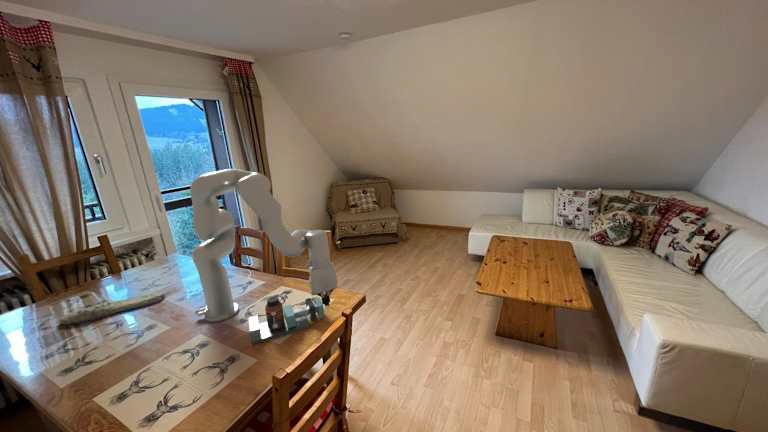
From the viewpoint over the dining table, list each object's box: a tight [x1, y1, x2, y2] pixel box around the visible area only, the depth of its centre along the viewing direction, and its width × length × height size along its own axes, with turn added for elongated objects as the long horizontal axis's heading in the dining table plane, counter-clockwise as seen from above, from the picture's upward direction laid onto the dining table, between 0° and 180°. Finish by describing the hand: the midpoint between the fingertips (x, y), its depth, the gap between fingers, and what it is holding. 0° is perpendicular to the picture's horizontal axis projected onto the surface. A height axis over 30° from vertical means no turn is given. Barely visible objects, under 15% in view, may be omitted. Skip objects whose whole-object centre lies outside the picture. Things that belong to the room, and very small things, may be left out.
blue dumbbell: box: [282, 297, 325, 328], centre depth 115 cm, size 14×8×5 cm, turn 116°
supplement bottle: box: [264, 295, 285, 330], centre depth 110 cm, size 6×6×11 cm
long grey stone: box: [58, 291, 166, 325], centre depth 129 cm, size 35×5×10 cm
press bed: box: [248, 297, 318, 347], centre depth 112 cm, size 23×10×7 cm, turn 116°
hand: (326, 304), depth 118 cm, fingers closed
